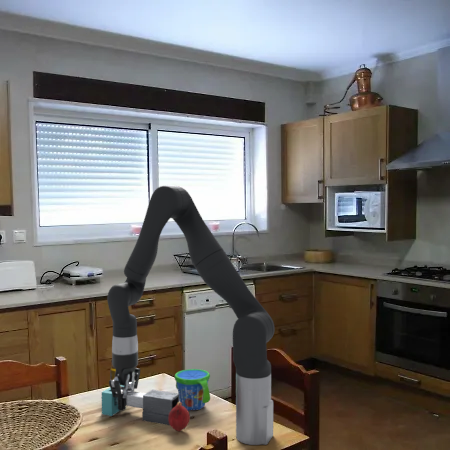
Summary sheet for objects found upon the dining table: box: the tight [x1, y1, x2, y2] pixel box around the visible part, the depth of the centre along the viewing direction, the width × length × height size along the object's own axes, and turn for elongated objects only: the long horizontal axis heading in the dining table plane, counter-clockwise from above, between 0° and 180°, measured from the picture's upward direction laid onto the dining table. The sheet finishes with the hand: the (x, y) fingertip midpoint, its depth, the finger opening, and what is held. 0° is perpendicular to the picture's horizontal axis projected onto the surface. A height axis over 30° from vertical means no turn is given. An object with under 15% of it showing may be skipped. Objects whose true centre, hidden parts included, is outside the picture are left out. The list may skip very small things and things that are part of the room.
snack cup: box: [174, 368, 211, 412], centre depth 154 cm, size 16×10×10 cm
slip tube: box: [114, 390, 147, 409], centre depth 149 cm, size 14×3×3 cm, turn 68°
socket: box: [101, 385, 124, 417], centre depth 152 cm, size 4×7×7 cm, turn 158°
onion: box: [168, 401, 191, 433], centre depth 137 cm, size 6×6×8 cm
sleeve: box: [141, 389, 180, 426], centre depth 146 cm, size 9×6×7 cm, turn 68°
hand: (125, 407), depth 150 cm, fingers closed on slip tube, 3 cm apart
